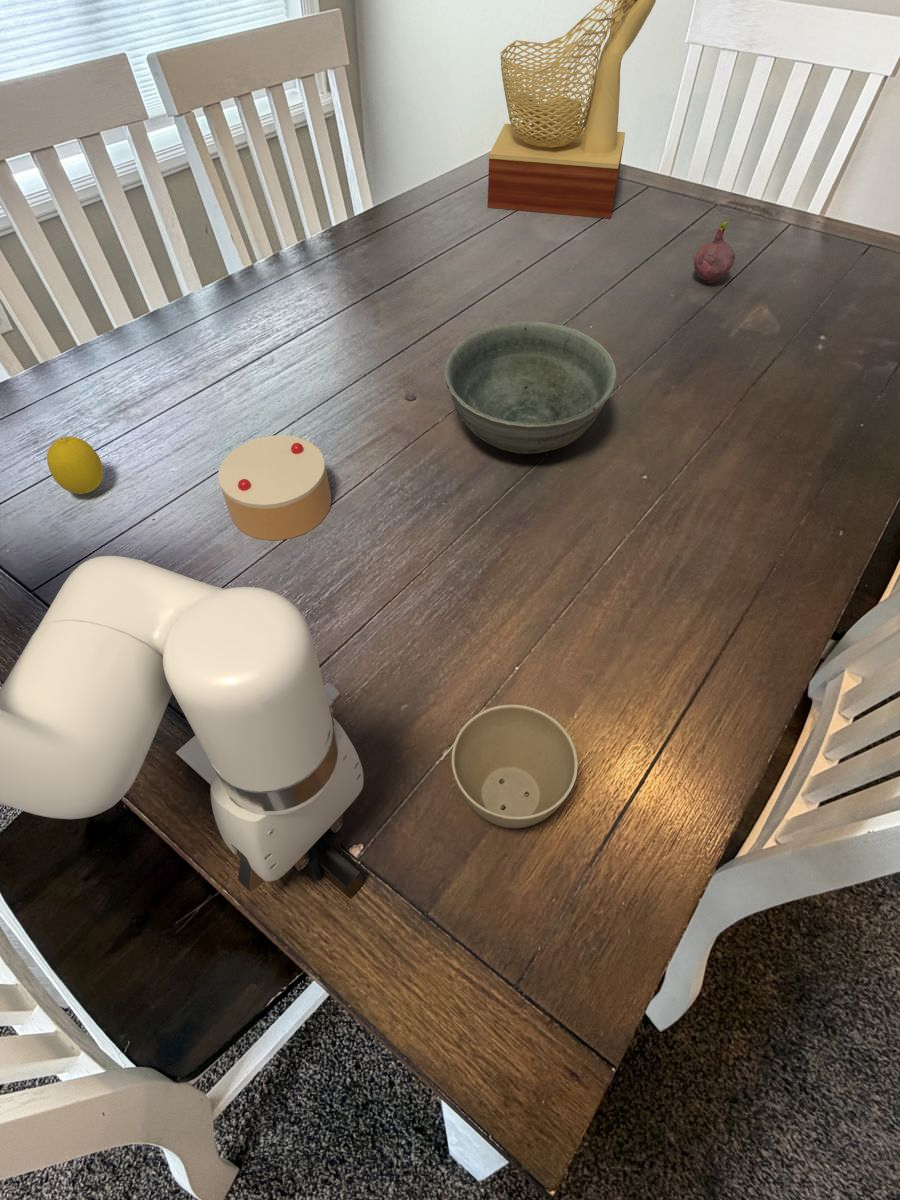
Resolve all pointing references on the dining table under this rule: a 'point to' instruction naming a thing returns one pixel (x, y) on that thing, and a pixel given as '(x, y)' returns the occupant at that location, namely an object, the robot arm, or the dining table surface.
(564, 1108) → the dining table surface
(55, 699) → the robot arm
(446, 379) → the bowl
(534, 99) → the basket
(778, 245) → the dining table surface
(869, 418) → the dining table surface
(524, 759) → the flower pot
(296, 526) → the cake
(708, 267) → the vegetable
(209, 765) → the knife
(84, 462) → the lemon
